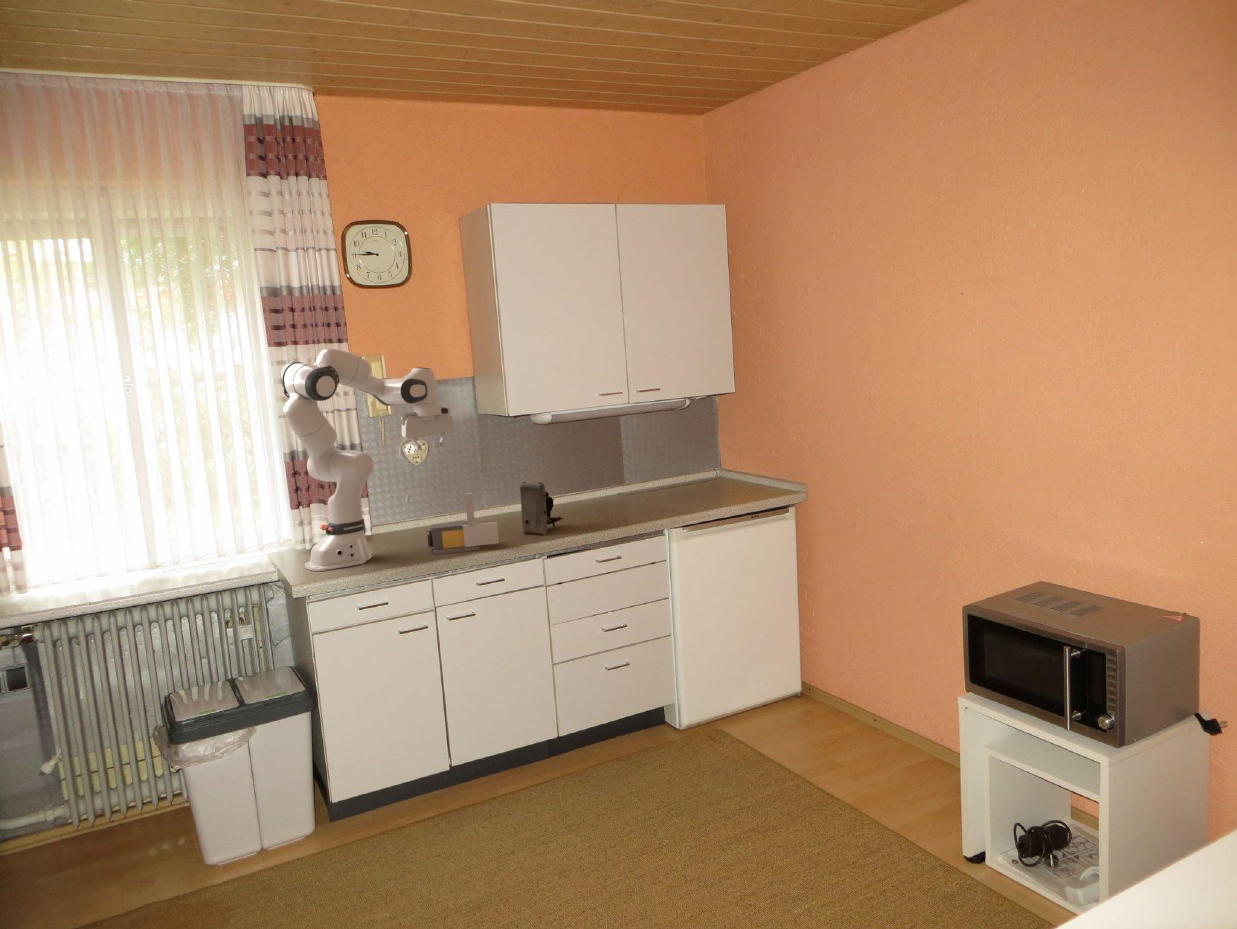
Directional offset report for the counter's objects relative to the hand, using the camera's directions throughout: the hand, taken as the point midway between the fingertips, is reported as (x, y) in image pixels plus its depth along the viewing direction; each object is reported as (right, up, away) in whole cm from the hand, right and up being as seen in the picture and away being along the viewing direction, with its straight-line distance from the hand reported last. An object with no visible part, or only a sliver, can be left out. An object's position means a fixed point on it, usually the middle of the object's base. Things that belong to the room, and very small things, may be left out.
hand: (429, 448), depth 336 cm
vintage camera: (+42, -32, +7) cm, 53 cm away
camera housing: (+12, -37, -14) cm, 41 cm away
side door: (+22, -35, -16) cm, 44 cm away
